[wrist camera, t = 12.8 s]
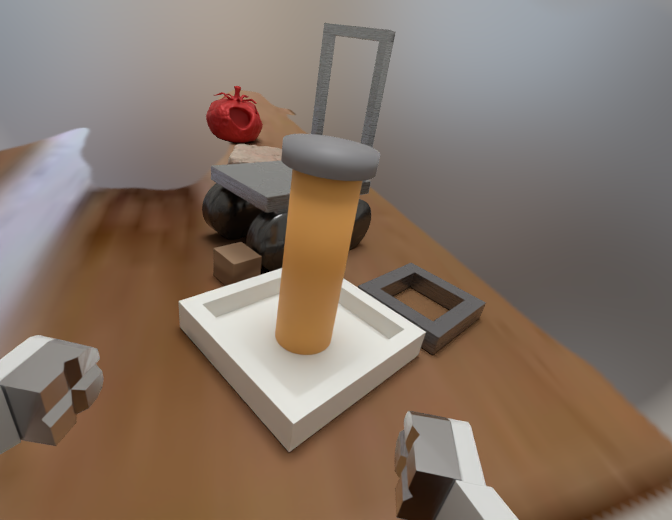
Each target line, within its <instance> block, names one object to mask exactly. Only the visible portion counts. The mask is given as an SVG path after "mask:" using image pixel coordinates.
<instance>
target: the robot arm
mask: <svg viewBox="0 0 672 520" xmlns="http://www.w3.org/2000/svg"><path fill="white" fill-rule="evenodd" d="M99 359H100V357H99V353H98V349H96V348H93V347H89V346H85V345H81V344H76V343H72V342H68V341H63V340H59V339H54V338H49V337H45V336H40V335H36V336H33V337H29V338H28V339H27V340H25V341H24V342H23V343H21V344H20V345H19V346H18V347H16V348H15V349H14V350H12V351H11V352H10V353H8V354H7V355H6V356H4V357H3V358H2V359H0V454H2V453H3V452H5V451H7V450H8V449H10V448H12V447H13V446H15V445H17V444H19V443H20V442H21V440H24V441H30V442H36V443H41V444H47V445H53V446H57V444H58V443H59V442H60V441H61V440H62V439H63V438H64V436H65V435H66V434H67V433H68V432H69V431H70V429H71V428H72V427H73V426H74V425H75V424H76V419H77V414H78V413H80V412H82V411H84V410H86V409H88V408H89V407H90V406H91V405H92V404H93V403H94V401H95V400H96V399H97V397H98V395H99V393H100V391H101V389H102V385H103V373H102V371H101V370H100V368H99V367H98V366H97V365H96V363H97V361H98V360H99ZM395 472H396V474H397V475H398V477H399V480H398V483H397V486H396V488H395V495H396V517H397V518H401V519H405V520H518V518H517V517H516V516H515V515H514V513H513V512H512V511H511V510H510V509H509V507H508V506H507V505H506V504H505V502H504V501H503V500H502V499H501V497H500V496H499V495H498V494H497V493H496V491H495V490H494V489H493V488H492V487H488V486H486V484H485V480H484V476H483V472H482V468H481V464H480V460H479V456H478V452H477V448H476V444H475V440H474V436H473V432H472V429H471V426H470V424H469V423H468V422H464V421H459V420H454V419H449V418H448V419H447V418H445V417H440V416H434V415H429V414H424V413H418V412H413V411H408V412H407V414H406V416H405V419H404V430H403V431H401V432H400V433H399V436H398V439H397V443H396V449H395Z"/></svg>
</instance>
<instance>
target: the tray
mask: <svg viewBox="0 0 672 520" xmlns="http://www.w3.org/2000/svg"><path fill="white" fill-rule="evenodd" d="M281 274H282V268H280V269H277V270H274V271H271V272H268V273H265V274H262V275H259V276H256V277H252V278H249V279H246V280H243V281H240V282H237V283H234V284H231V285H228V286H224V287H221V288H218V289H215V290H212V291H209V292H206V293H203V294H200V295H197V296H193V297H190V298H187V299H184V300H181V301H179V318H180V328H181V329H182V330H183V331H184V332H185V333H186V335H187V336H188V337H189V338H190V339H191V340H192V341H193V343H194V344H195V345H196V346H197V347H198V348H199V349H200V351H201V352H202V353H203V354H204V355H205V356H206V357H207V359H208V360H209V361H210V362H211V363H212V364H213V366H214V367H215V368H216V369H217V370H218V371H219V372H220V374H221V375H222V376H223V377H224V378H225V379H226V380H227V382H228V383H229V384H230V385H231V386H232V387H233V388H234V390H235V391H236V392H237V393H238V394H239V395H240V397H241V398H242V399H243V400H244V401H245V402H246V403H247V405H248V406H249V407H250V408H251V409H252V410H253V411H254V413H255V414H256V415H257V416H258V417H259V418H260V420H261V421H262V422H263V423H264V424H265V425H266V426H267V428H268V429H269V430H270V431H271V432H272V433H273V434H274V436H275V437H276V438H277V439H278V440H279V441H280V442H281V444H282V445H283V446H284V447H285V448H286V449H287V451H288V452H290V451H292V450H293V449H294V448H296V447H297V446H298V445H300V444H301V443H302V442H304V441H305V440H306V439H308V438H309V437H310V436H312V435H313V434H314V433H316V432H317V431H318V430H320V429H321V428H322V427H323V426H325V425H326V424H327V423H329V422H330V421H331V420H333V419H334V418H335V417H337V416H338V415H339V414H341V413H342V412H343V411H345V410H346V409H347V408H349V407H350V406H351V405H353V404H354V403H355V402H357V401H358V400H359V399H361V398H362V397H363V396H365V395H366V394H367V393H369V392H370V391H371V390H373V389H374V388H375V387H377V386H378V385H379V384H381V383H382V382H383V381H385V380H386V379H387V378H389V377H390V376H391V375H393V374H394V373H395V372H397V371H398V370H399V369H401V368H402V367H403V366H405V365H406V364H407V363H409V362H410V361H411V360H412V359H414V358H415V357H416V356H418V354H419V351H420V348H421V345H422V342H423V339H424V336H425V334H426V332H425V331H424V330H422V329H421V328H419V327H418V326H416V325H414V324H413V323H411V322H410V321H408V320H407V319H405V318H404V317H402V316H401V315H399V314H397V313H396V312H394V311H393V310H391V309H390V308H388V307H387V306H385V305H384V304H382V303H380V302H379V301H377V300H376V299H374V298H373V297H371V296H370V295H368V294H367V293H365V292H363V291H362V290H360V289H359V288H357V287H356V286H354V285H353V284H351V283H350V282H348V281H346V280H345V279H343V282H342V287H341V292H340V298H339V303H338V308H337V313H336V318H335V323H334V328H333V333H332V338H331V342H330V345H329V346H328V347H327V348H326V349H325V350H324V351H322V352H320V353H317V354H312V355H300V354H295V353H292V352H290V351H288V350H286V349H284V348H283V347H282V346H280V344H279V343H278V342H277V340H276V337H275V330H276V321H277V311H278V302H279V292H280V283H281Z"/></svg>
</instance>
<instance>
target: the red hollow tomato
mask: <svg viewBox="0 0 672 520" xmlns="http://www.w3.org/2000/svg"><path fill="white" fill-rule="evenodd" d="M234 88H235V95H234V96H231V95H230V94H225V93H219V94H217V95H221V94H224V95H225V96H224V97H223V98H225V97H227V98H228V99H223V98H222V99H220V100H216V101H214V102H213V103H211V105H210V107H209V110H208V112H207V115H206V120H207V123H208V126H209V128H210V130H211V132H212V133H213V134H214V135H215V136H216V137H217V138H219V139H222V140H225V141H229V142H234V143H245V142H250V141H254V140H256V139H257V137H258V135H259V134H260V132H261V129H262V125H263V124H262V122H261V120H260V116H259V113H258V111H257V109H256V106H255V105H254V104H253V103H251V102H246V101H253V102H254V103H255V104H257V103H256V102H255V101H254V100H253V99H247V100H242V99H243V98H244V97H246V98H248V96H246V95H242V96H241V97H240V94H239V93H240V90H241V87H239V86H234ZM227 95H230V96H231V98H230V97H229V96H227Z"/></svg>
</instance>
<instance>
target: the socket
mask: <svg viewBox="0 0 672 520" xmlns="http://www.w3.org/2000/svg"><path fill="white" fill-rule="evenodd" d="M409 287H411V288H413V289H415V290H416V291H418V292H420V293H421V294H423V295H425V296H427V297H428V298H430V299H432V300H434V301H435V302H437V303H439V304H440V305H442V306H444V307H446V308H447V309H449V310H450V311H448V312H447V313H445V314H444V315H442V316H441V317H439V318H438V319H436V320H435V321H431V320H429V319H428V318H426V317H425V316H423V315H421V314H420V313H418V312H417V311H415V310H413V309H412V308H410V307H409V306H407V305H405V304H404V303H402V302H400V301H399V300H397V299H396V298H394V297H392V296H394V295H396V294H398V293H400V292H402V291H404V290H406V289H407V288H409ZM358 288H359V289H360V290H362V291H363V292H365V293H367V294H368V295H370V296H371V297H373V298H374V299H376V300H377V301H379V302H380V303H382V304H384V305H385V306H387V307H388V308H390V309H391V310H393V311H394V312H396V313H397V314H399V315H401V316H402V317H404V318H405V319H407V320H408V321H410V322H411V323H413V324H414V325H416V326H418V327H419V328H421V329H422V330H424V331H425V332H426V334H425V336H424V339H423V342H422V345H421V347H422V348H423V349H425V350H426V351H428V352H429V353H431V354H432V355H433V354H435V353H436V352H437V351H438V350H440V349H441V348H442V347H443V346H445V345H446V344H447V343H448V342H450V341H451V340H452V339H454V338H455V337H456V336H457V335H459V334H460V333H461V332H462V331H464V330H465V329H466V328H467V327H469V326H470V325H471V324H473V323H474V322H475V321H476V320H478V319H479V318H480V316H481V313H482V311H483V308H484V306H485V304H486V303H485V302H483V301H482V300H480V299H478V298H476V297H474V296H472V295H470V294H469V293H467V292H465V291H463V290H461V289H459V288H457V287H455V286H454V285H452V284H450V283H448V282H446V281H444V280H442V279H441V278H439V277H437V276H435V275H433V274H431V273H429V272H427V271H426V270H424V269H422V268H420V267H418V266H416V265H414V264H413V263H409V264H407V265H405V266H403V267H400V268H398V269H396V270H393V271H391V272H389V273H387V274H384V275H382V276H380V277H378V278H375V279H373V280H371V281H368V282H366V283H364V284H362V285H359V286H358Z"/></svg>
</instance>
